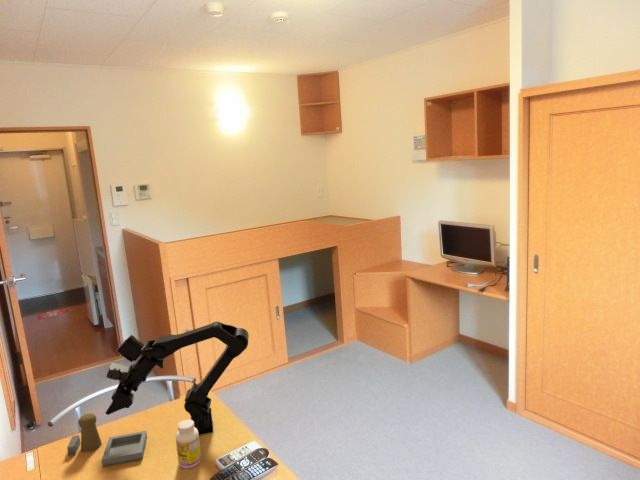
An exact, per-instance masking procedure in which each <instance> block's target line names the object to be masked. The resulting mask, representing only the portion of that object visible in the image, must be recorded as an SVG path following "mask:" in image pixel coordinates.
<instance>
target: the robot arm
mask: <svg viewBox="0 0 640 480" xmlns="http://www.w3.org/2000/svg"><path fill="white" fill-rule="evenodd" d="M249 337H250V336H249V332H248V331H247V329H245V328H242V327H236V326H234V325H231V324H227V323H226V324H225V323H223V322H220V321H214V322H212V323H209V324H206V325H203V326H201V327H197V328H193V329H191V330H189V331H184V332H183V333H178V334H166V335H159V336H157V338H155V339H152V340H146V341H145V342H144V343H142V342H141V341H140V340H138V339H137V338H136V337H135V336H134V335H133V334H130V335H129V336H128V337H127V338H125V340H124V341H123V342H122V343H121V345H119V347H118V348H117V349H116V351H115V353H116V354H118V355H120V356H121V357H123V358H124V359H125V360H127V361H129V362H131V363H133V362H135V363H133V364H131V365H130V366H126V365H124V364H120V363H116V362H111V363H110V366H109V368H108V369H107V370H108V371H107V373H106V376H105V377H106V378H107V379H110V380H114V381H118V382H119V383H118V385H117V387H116V388H115V390H114V391H113V393H112V395H111V397H110V399H111V400H112V401H111V403H110V404H109V405H108V407H107V409H106V411H105V414H106V415H107V416H110V415H111V414H114V413H115V412H117V411H120V410H122V409H129V408H130V407H132V405H133V402H134V400H135V395H134V393H133V392H137V391H139V387H140V386H141V385H142V383H145V382H146V381H147V379H148V376H149V375H150V374H151V373H152V371H154V370H155V368H156V367H159V368H160V369H164V366H165V359H166V358H168V357H169V356H171V355H173V354H174V353H176V352H177V351H179V350H181V349H183V348H185V347H189V346H191V345H195V344H198V343H201V342H204V341H207V340H210V339H217V340H219V341H220V342H222V343H223V344H224V345H225V348H224V349H223V352H221V354H220V355H219V357H217V360H216V361H215V362H214V363H213V365H212V366H211V367H210V369H209V370H208V372H207V373H206V375H205V376H203V377H204V378H202V380H201V381H200V382H199V383H196V382H193V383H192V385H191V387H190V388H189V389H188V390H187V391H186V394H185V398H184V405H183V406H184V407H183V408H184V410H185V412H187V413H188V414H189V415H190V420H193V421H194V427H195V428H196V429H197V430H198V433H199V436H200V435H207V434H211V433H213V432H214V420H213V413H212V408H211V404H212V399H211V398H210V397H209V396H208V395H209V392H211V390H212V388H213V387H214V386H215V385H216V383H218V382H217V381H218V380H219V379H220V378H221V376H222V375H223V373H224V372H225V371H226V370H227V368H228V367H229V365H230V364H231V362H232V361H233V360H234V359H235V358H237V357H238V356H240V355H241V354H242V353H243V352H244V351H246V349H247V348H248V346H249ZM141 355H142V356H141ZM140 356H141V357H140ZM139 357H140V358H139ZM132 391H133V392H132Z"/></svg>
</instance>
